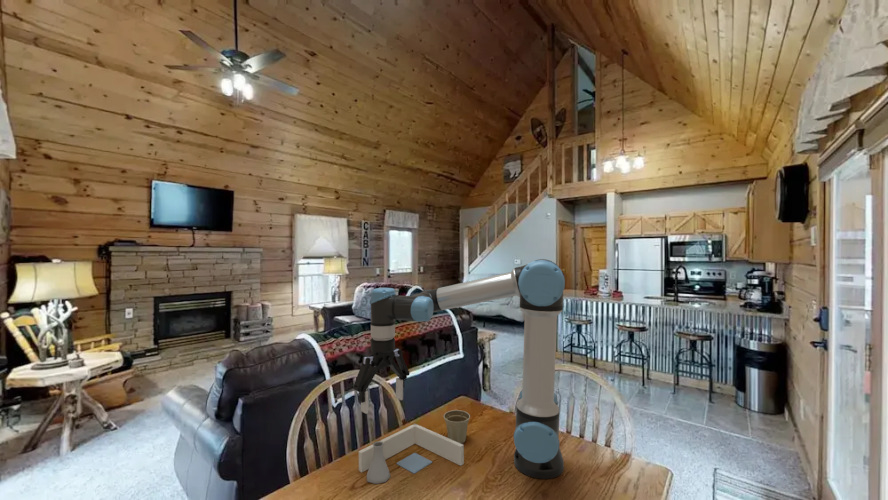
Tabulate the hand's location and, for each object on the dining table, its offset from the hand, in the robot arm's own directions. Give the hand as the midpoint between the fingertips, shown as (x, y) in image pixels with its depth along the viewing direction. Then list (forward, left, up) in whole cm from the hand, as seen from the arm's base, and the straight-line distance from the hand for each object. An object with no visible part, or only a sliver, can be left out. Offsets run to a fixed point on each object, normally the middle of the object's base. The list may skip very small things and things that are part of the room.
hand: (382, 405), depth 118 cm
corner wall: (-8, -5, -19) cm, 21 cm away
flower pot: (-8, -27, -19) cm, 34 cm away
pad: (-7, -7, -19) cm, 21 cm away
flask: (-4, +5, -19) cm, 20 cm away
